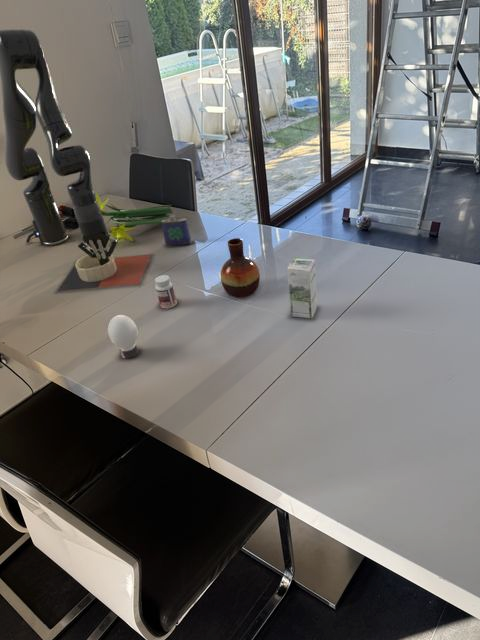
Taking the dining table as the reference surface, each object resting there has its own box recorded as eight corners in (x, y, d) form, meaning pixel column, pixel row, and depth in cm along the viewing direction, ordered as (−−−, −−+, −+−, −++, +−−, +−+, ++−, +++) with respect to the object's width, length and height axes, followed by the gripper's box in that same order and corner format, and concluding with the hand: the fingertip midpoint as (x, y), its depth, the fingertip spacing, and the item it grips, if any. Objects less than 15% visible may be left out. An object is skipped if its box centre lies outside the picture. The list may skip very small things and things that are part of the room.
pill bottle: (170, 298, 138) (163, 272, 133) (180, 303, 135) (173, 277, 130) (157, 305, 136) (149, 279, 131) (166, 310, 133) (159, 284, 128)
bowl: (75, 283, 151) (70, 270, 148) (86, 265, 160) (82, 253, 158) (111, 280, 150) (107, 267, 147) (121, 262, 160) (117, 250, 157)
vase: (267, 283, 139) (262, 234, 130) (251, 303, 131) (244, 252, 122) (234, 279, 143) (226, 231, 134) (216, 298, 135) (207, 248, 126)
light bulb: (119, 365, 115) (105, 328, 108) (114, 350, 120) (101, 314, 113) (146, 356, 117) (134, 319, 110) (140, 342, 122) (129, 306, 115)
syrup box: (317, 307, 126) (315, 258, 117) (312, 320, 122) (309, 269, 113) (296, 305, 128) (293, 256, 119) (290, 317, 124) (286, 268, 115)
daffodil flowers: (187, 228, 180) (100, 238, 157) (168, 241, 191) (85, 252, 168) (173, 185, 179) (84, 188, 156) (155, 200, 190) (69, 206, 167)
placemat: (57, 292, 148) (57, 291, 148) (78, 262, 164) (77, 261, 164) (139, 285, 147) (138, 283, 146) (151, 255, 162) (151, 254, 162)
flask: (192, 241, 168) (186, 212, 162) (191, 245, 166) (184, 215, 159) (167, 243, 169) (159, 214, 162) (165, 247, 167) (158, 218, 160)
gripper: (113, 210, 146) (129, 260, 156) (72, 214, 147) (90, 264, 157) (107, 219, 140) (123, 271, 150) (64, 223, 141) (83, 275, 151)
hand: (106, 268), depth 154 cm, fingers closed
